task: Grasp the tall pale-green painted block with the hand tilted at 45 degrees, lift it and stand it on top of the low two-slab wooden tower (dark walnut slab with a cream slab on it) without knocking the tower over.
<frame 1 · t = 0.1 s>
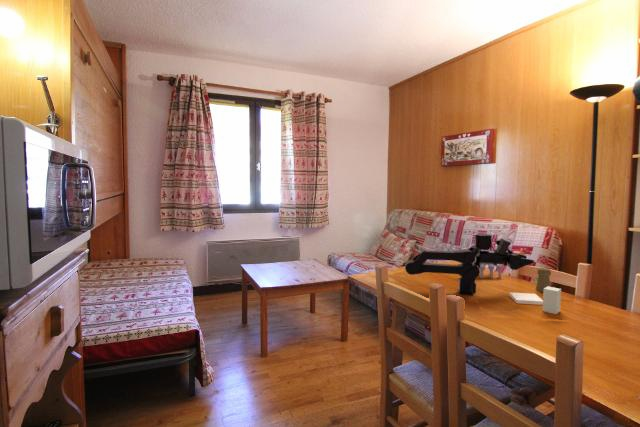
hand: (529, 259, 151), 17 cm above the table, tool horizontal, fingers open, 9 cm apart
block: (551, 313, 133), on the table
toy sheep: (479, 276, 187), on the table
tower top: (526, 300, 146), point 1 cm above the table, touching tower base
olive green vase: (543, 292, 159), on the table
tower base: (525, 303, 146), on the table, touching tower top
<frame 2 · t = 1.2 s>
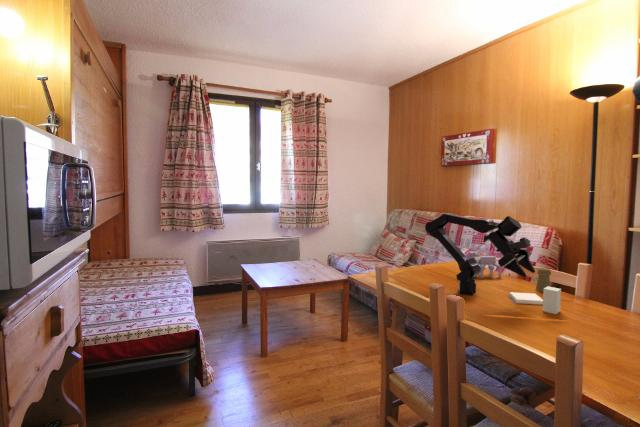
hand: (530, 274, 138), 13 cm above the table, tool tilted 45°, fingers open, 9 cm apart
nothing on the table moved.
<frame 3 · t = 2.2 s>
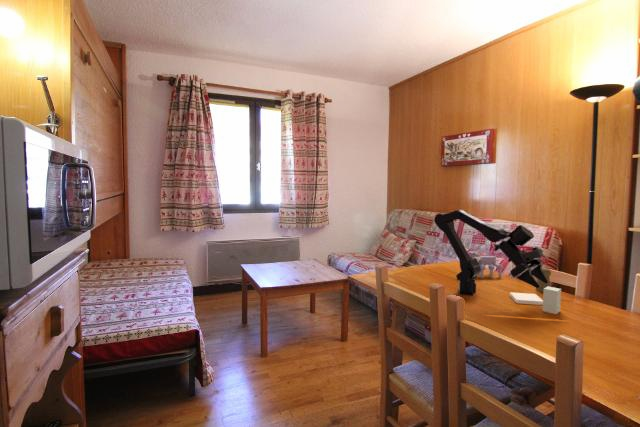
hand: (543, 285, 135), 10 cm above the table, tool tilted 45°, fingers open, 9 cm apart
nothing on the table moved.
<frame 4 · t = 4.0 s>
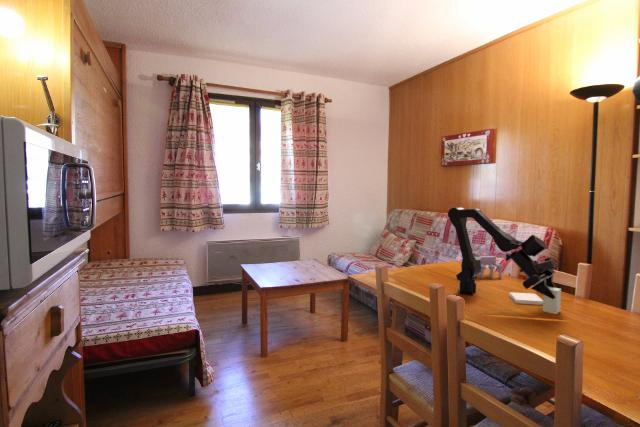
hand: (556, 297, 132), 7 cm above the table, tool tilted 45°, fingers closed on block, 4 cm apart
block: (551, 312, 133), on the table, touching gripper
everything else where it was.
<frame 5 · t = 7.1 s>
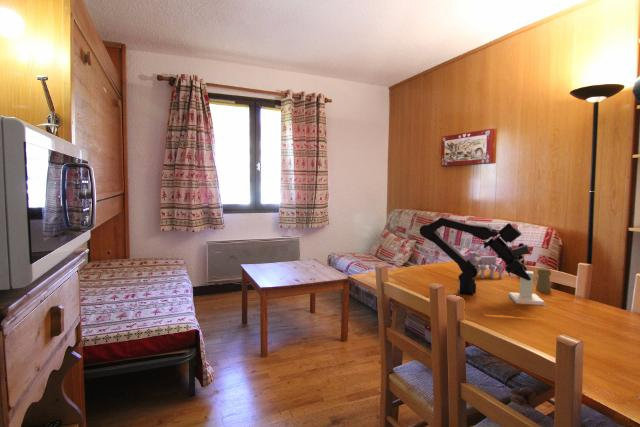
hand: (530, 278, 145), 10 cm above the table, tool tilted 45°, fingers closed on block, 4 cm apart
block: (525, 294, 146), point 3 cm above the table, touching gripper
everything else where it was.
when the fingers open (10 cm above the table, at t = 7.5 s): block stays where it is, resting on tower top.
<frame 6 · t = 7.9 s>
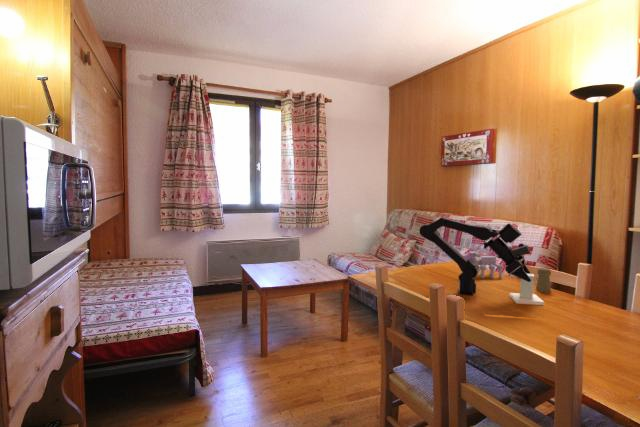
hand: (530, 278, 144), 10 cm above the table, tool tilted 45°, fingers open, 8 cm apart
block: (526, 296, 146), point 2 cm above the table, touching tower top
tower top: (525, 300, 146), point 1 cm above the table, touching block, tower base
everything else where it was.
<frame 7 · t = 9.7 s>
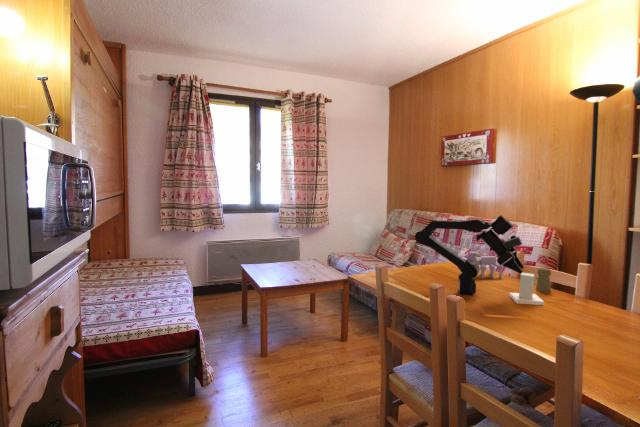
hand: (522, 270, 146), 13 cm above the table, tool tilted 45°, fingers open, 9 cm apart
nothing on the table moved.
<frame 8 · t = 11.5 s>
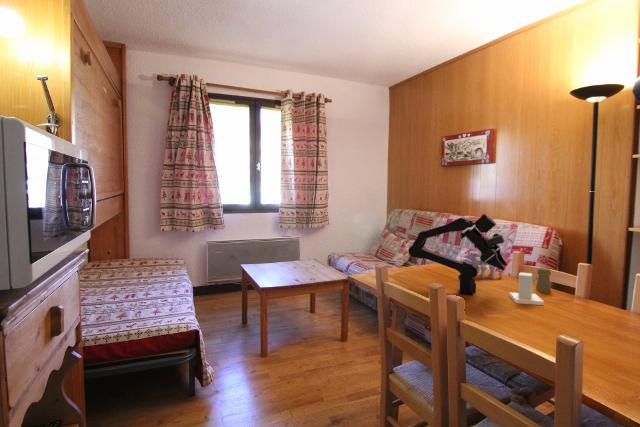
hand: (505, 267, 149), 14 cm above the table, tool tilted 45°, fingers open, 9 cm apart
block: (525, 296, 146), point 2 cm above the table
tower top: (525, 300, 146), point 1 cm above the table, touching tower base
everything else where it was.
at the end: block inside the target area on the tower top (0.2 cm from its centre), point 1.5 cm above the tower top's base; block tilted 0°; tower top moved 0.9 cm from its start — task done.
